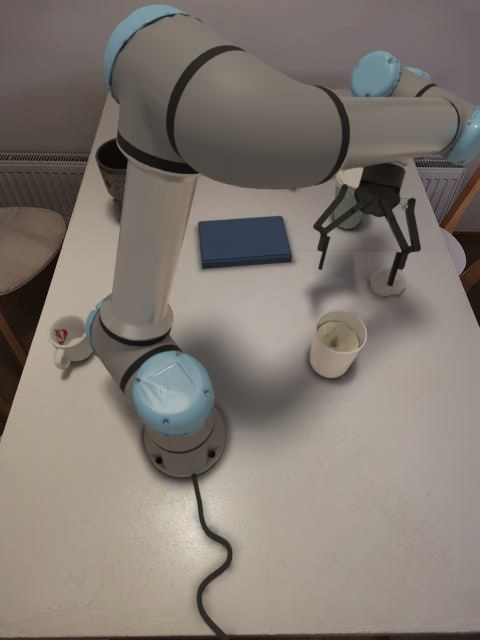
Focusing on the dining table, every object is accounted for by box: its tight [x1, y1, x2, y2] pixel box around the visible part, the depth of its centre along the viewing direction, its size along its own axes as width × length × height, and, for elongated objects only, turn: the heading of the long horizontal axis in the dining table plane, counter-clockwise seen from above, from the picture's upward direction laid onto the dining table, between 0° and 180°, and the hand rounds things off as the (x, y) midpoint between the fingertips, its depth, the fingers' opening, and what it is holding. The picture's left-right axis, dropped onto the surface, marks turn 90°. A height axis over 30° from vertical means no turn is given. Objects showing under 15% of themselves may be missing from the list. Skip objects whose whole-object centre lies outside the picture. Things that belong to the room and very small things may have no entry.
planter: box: [94, 137, 128, 223], centre depth 108 cm, size 13×13×18 cm
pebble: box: [368, 267, 408, 297], centre depth 100 cm, size 9×8×5 cm
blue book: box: [197, 215, 293, 270], centre depth 108 cm, size 14×22×2 cm, turn 97°
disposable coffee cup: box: [333, 167, 364, 229], centre depth 108 cm, size 11×11×15 cm
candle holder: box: [309, 309, 368, 379], centre depth 86 cm, size 10×10×12 cm
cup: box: [46, 313, 93, 371], centre depth 88 cm, size 11×8×8 cm
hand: (354, 277), depth 84 cm, fingers open, 13 cm apart
